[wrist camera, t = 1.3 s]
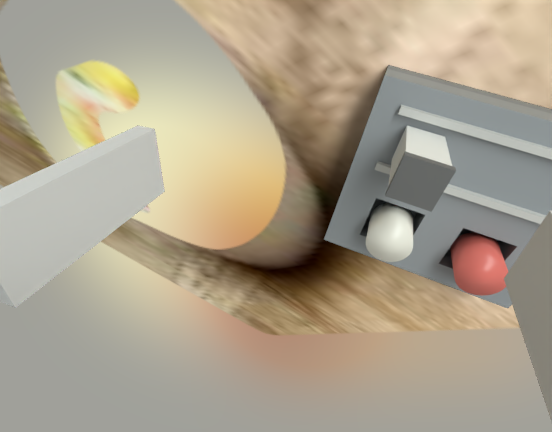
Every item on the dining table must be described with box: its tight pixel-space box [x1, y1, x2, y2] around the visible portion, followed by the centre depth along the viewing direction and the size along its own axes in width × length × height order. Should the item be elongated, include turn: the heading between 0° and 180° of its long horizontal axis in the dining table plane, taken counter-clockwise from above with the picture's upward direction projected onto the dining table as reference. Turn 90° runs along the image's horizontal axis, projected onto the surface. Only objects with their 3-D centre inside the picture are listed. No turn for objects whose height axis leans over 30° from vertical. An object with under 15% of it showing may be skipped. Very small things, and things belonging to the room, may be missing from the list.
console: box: [324, 65, 552, 308], centre depth 30 cm, size 19×17×6 cm
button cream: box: [366, 203, 413, 262], centre depth 30 cm, size 4×4×4 cm
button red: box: [450, 232, 508, 296], centre depth 29 cm, size 4×4×4 cm
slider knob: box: [385, 126, 456, 212], centre depth 24 cm, size 3×3×7 cm
